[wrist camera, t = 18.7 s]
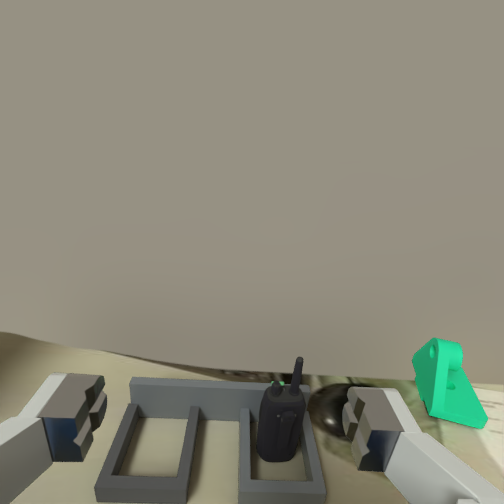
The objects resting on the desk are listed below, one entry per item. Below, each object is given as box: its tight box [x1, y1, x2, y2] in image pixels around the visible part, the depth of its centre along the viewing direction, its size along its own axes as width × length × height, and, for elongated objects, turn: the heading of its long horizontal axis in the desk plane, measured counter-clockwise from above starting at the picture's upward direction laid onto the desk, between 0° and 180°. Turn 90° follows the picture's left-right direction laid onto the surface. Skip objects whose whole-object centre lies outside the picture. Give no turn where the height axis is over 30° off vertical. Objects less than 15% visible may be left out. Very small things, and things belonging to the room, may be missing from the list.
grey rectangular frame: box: [94, 403, 199, 504], centre depth 37 cm, size 9×10×2 cm
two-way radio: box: [256, 357, 306, 462], centre depth 36 cm, size 6×4×15 cm
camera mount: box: [412, 338, 488, 429], centre depth 48 cm, size 12×8×10 cm, turn 165°
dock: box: [129, 377, 327, 504], centre depth 37 cm, size 24×11×7 cm, turn 91°
